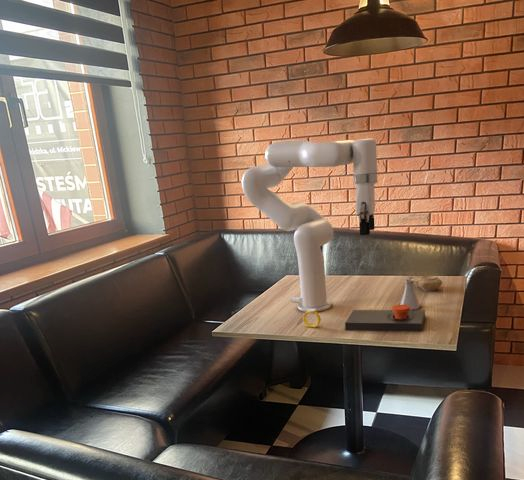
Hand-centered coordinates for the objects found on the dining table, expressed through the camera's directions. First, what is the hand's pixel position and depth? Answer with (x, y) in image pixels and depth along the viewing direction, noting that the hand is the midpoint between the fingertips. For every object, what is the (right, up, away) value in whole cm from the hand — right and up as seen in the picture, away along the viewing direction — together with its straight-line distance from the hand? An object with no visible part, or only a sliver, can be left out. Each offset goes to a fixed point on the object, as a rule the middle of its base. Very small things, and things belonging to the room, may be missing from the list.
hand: (367, 232), depth 180 cm
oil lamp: (+28, -16, +31) cm, 45 cm away
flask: (+17, -25, +11) cm, 32 cm away
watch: (-18, -32, +2) cm, 37 cm away
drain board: (+5, -31, -3) cm, 32 cm away
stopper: (+10, -31, -5) cm, 33 cm away
